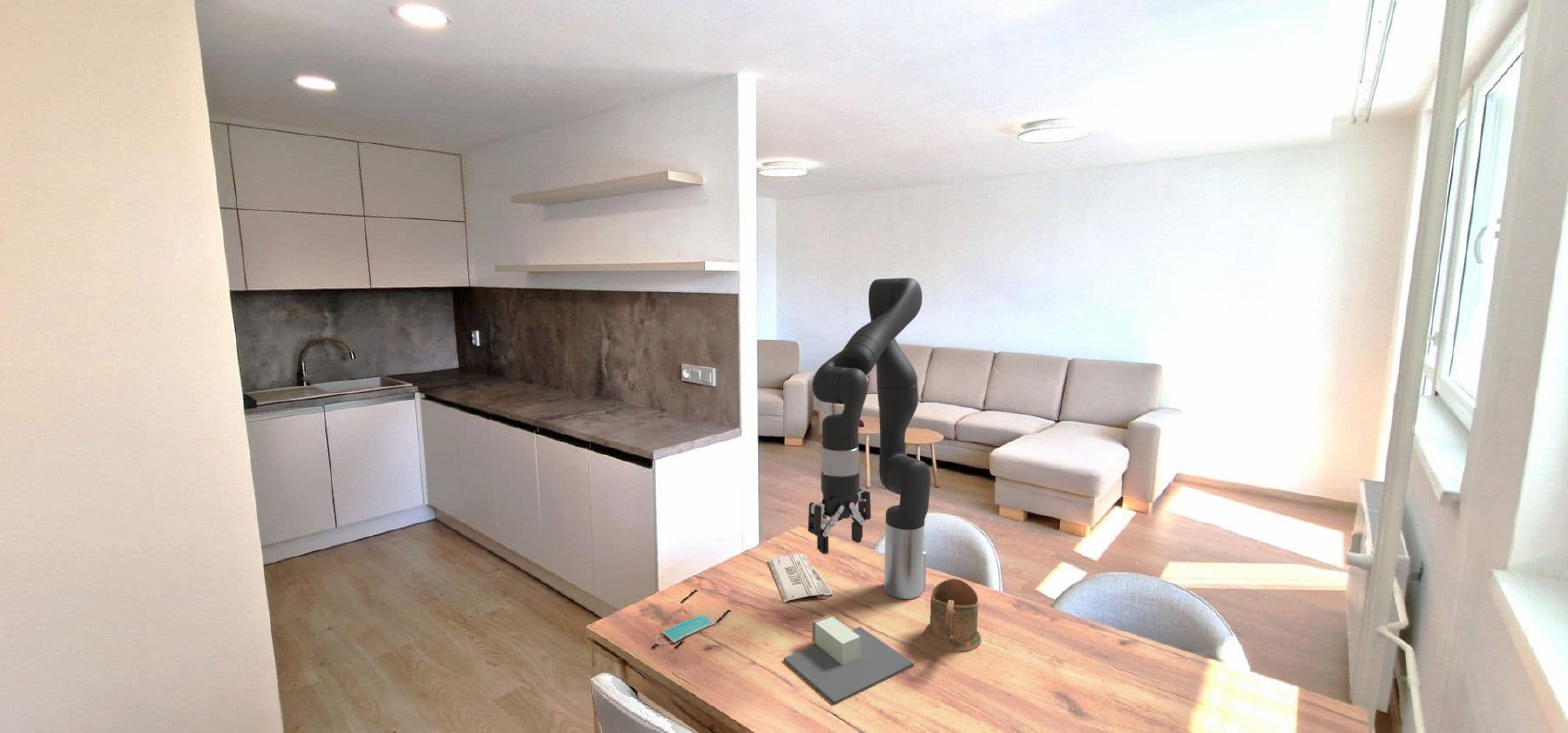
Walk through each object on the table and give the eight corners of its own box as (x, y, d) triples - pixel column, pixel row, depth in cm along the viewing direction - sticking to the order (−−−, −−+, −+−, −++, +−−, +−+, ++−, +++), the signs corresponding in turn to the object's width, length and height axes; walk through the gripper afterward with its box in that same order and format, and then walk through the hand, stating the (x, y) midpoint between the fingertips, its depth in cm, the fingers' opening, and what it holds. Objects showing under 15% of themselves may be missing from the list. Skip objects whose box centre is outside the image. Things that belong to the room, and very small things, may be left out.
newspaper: (835, 600, 154) (834, 590, 153) (785, 610, 151) (784, 601, 151) (812, 558, 175) (811, 549, 175) (768, 566, 173) (766, 558, 173)
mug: (916, 662, 128) (918, 605, 126) (928, 617, 145) (930, 567, 143) (977, 674, 124) (980, 616, 122) (982, 627, 141) (985, 575, 139)
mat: (859, 629, 140) (859, 626, 140) (913, 666, 127) (914, 663, 127) (783, 660, 129) (783, 658, 129) (834, 704, 116) (834, 701, 116)
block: (842, 643, 125) (812, 620, 134) (842, 665, 126) (812, 640, 134) (860, 636, 128) (829, 614, 136) (860, 657, 129) (829, 634, 137)
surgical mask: (696, 587, 151) (733, 595, 147) (696, 604, 152) (734, 613, 147) (642, 631, 132) (684, 642, 128) (643, 651, 133) (684, 662, 129)
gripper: (854, 457, 133) (854, 532, 135) (799, 470, 125) (800, 550, 127) (880, 466, 127) (879, 544, 129) (823, 481, 119) (824, 563, 121)
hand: (840, 547), depth 128 cm, fingers open, 8 cm apart
